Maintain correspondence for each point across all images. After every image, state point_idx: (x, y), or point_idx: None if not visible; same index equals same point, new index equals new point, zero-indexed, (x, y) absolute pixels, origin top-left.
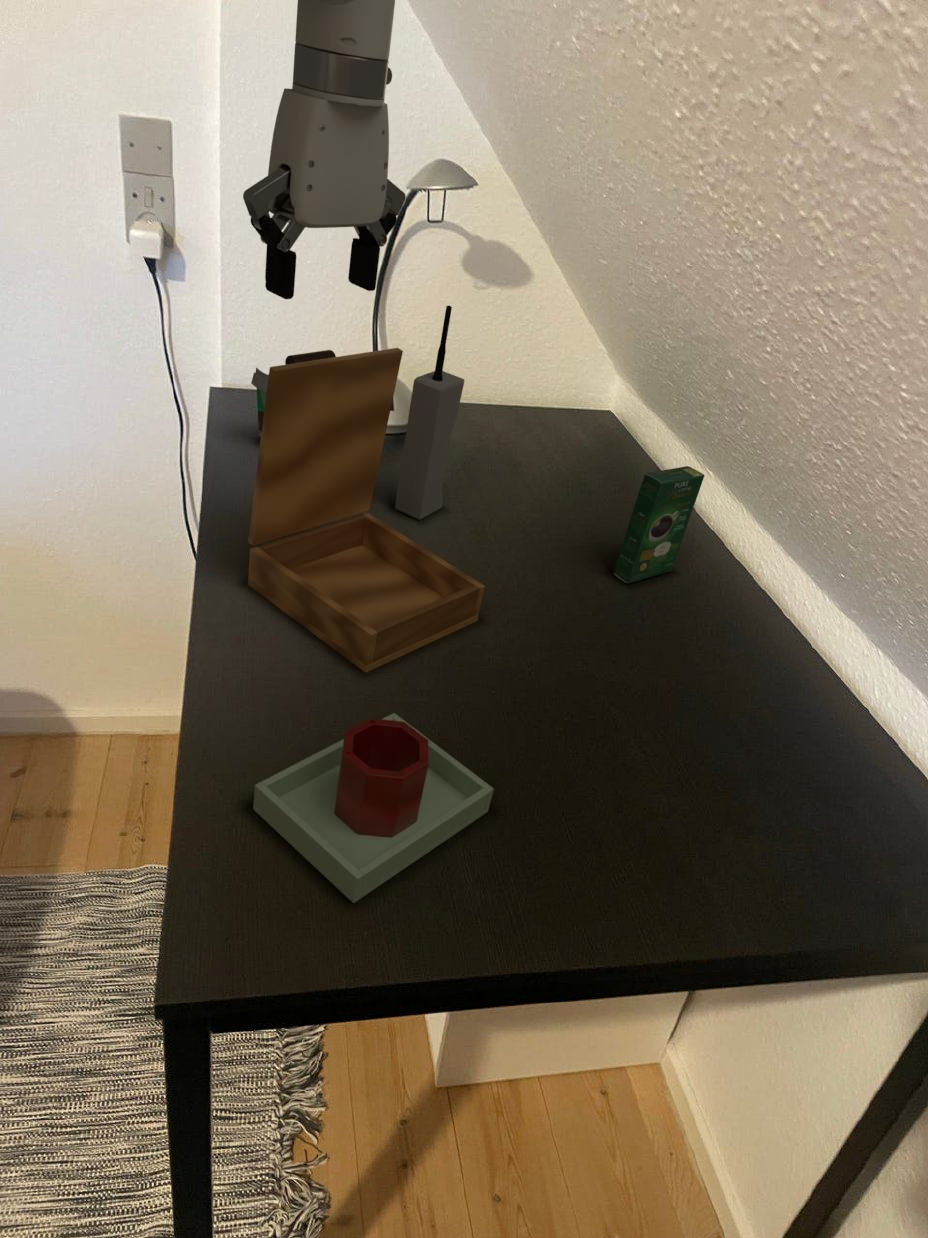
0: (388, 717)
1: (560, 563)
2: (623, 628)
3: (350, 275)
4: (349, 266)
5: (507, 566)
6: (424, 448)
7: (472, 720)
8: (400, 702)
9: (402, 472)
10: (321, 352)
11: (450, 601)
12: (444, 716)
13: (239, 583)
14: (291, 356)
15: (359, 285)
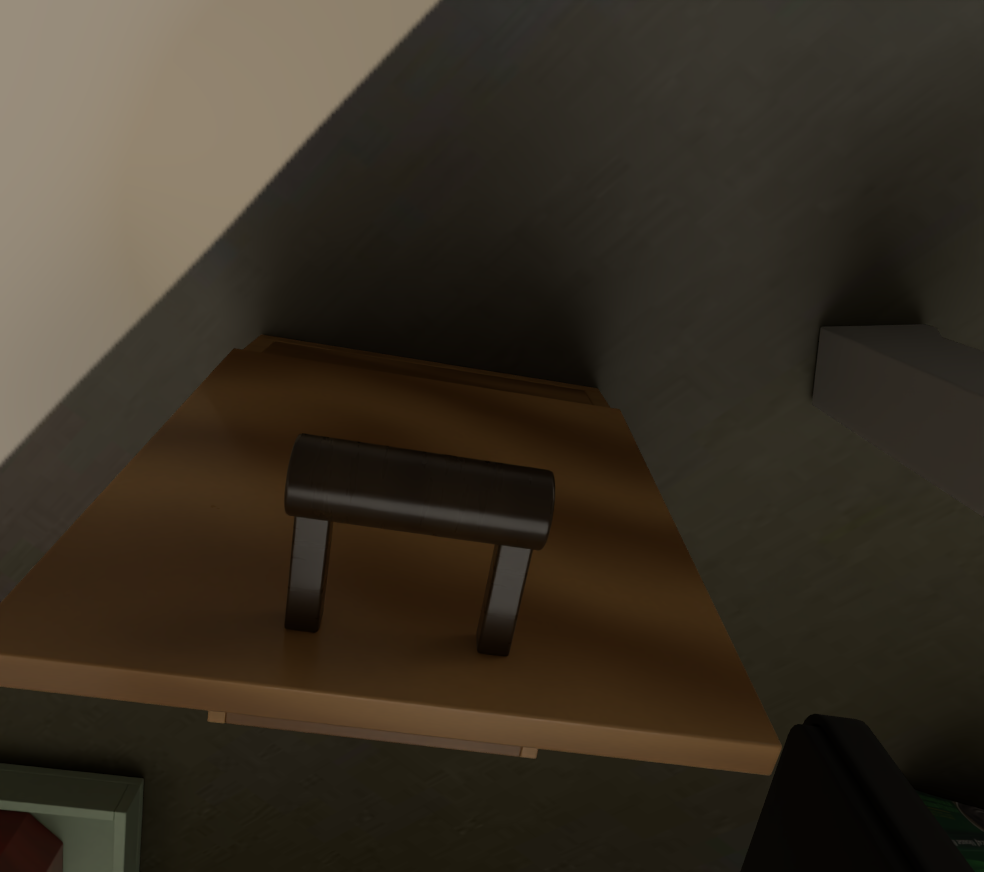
0: (108, 814)
1: (859, 699)
2: (712, 868)
3: (809, 768)
4: (848, 803)
5: (764, 637)
6: (915, 447)
7: (278, 832)
8: (220, 744)
9: (871, 356)
10: (475, 523)
11: (431, 745)
12: (250, 802)
13: (251, 316)
14: (284, 492)
15: (757, 830)
